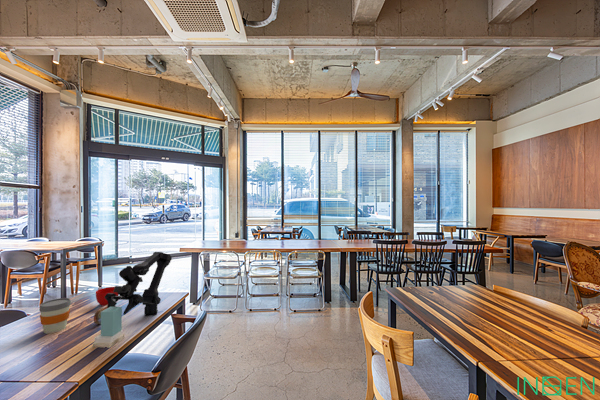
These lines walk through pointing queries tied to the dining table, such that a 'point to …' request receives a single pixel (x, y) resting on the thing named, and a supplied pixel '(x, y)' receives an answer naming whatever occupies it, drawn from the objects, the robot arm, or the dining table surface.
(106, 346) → the tower base
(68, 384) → the dining table surface
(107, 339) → the tower top
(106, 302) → the ceramic cup
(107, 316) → the teal pillar
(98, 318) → the tin
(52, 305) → the reusable coffee cup
